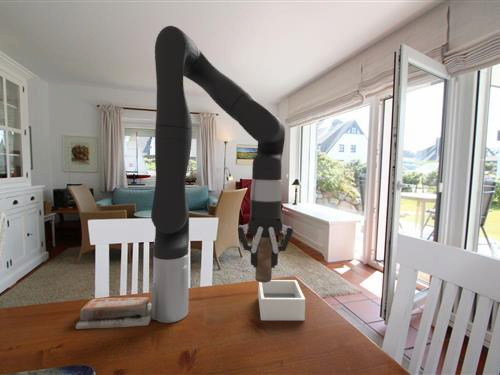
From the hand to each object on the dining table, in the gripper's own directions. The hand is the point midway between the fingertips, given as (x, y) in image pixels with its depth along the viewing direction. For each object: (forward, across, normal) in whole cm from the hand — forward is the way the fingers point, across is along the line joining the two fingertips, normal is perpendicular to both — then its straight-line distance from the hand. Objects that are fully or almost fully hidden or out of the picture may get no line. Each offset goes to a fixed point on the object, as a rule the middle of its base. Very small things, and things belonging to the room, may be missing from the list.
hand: (263, 266), depth 65 cm
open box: (+17, +6, +11) cm, 21 cm away
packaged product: (+18, -39, +6) cm, 43 cm away
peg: (+3, 0, 0) cm, 3 cm away
